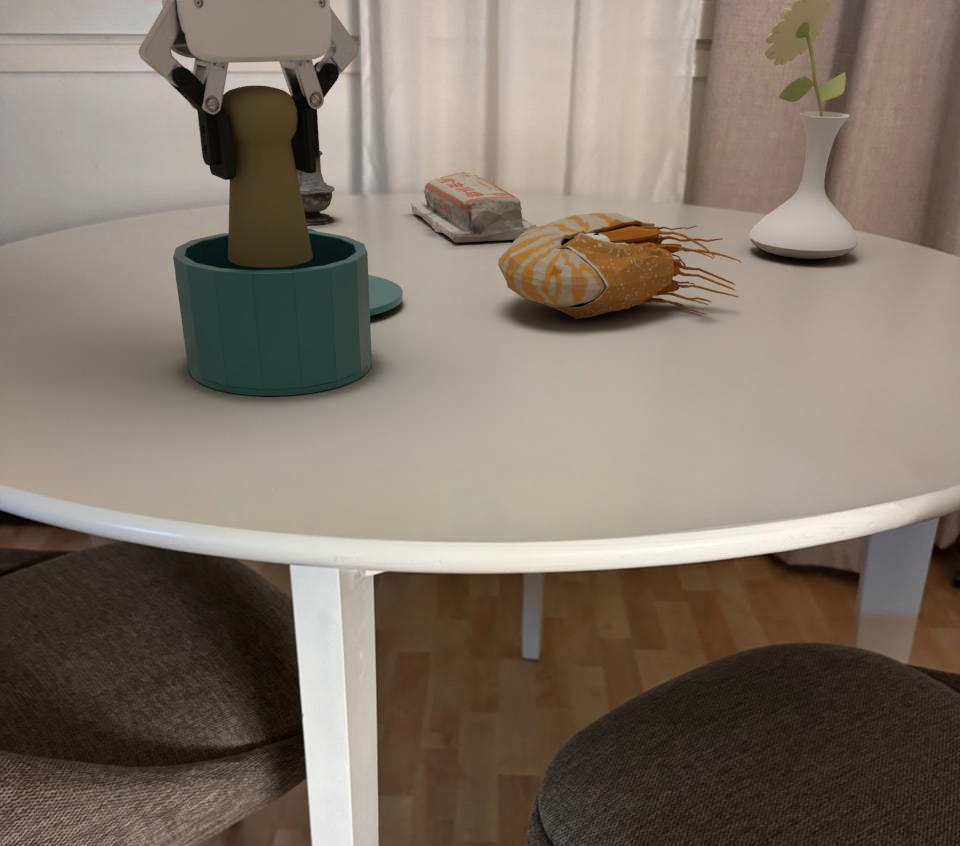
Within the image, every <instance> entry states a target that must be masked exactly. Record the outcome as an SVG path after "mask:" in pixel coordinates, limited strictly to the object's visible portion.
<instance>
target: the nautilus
mask: <svg viewBox="0 0 960 846" xmlns="http://www.w3.org/2000/svg"><path fill="white" fill-rule="evenodd" d="M655 225H656V223H652V222H647V221H641V220H638V219H635V218H632V217H629V216H627V215H624V214H621V213H619V212H594V213H593V212H591V213H583V214H574V215H570V216H567V217H564V218H559V219H557V220H555V221H551V222H548V223H545V224H542V225H538V226H536V227H534V228H531V229H529V230H527V231H526V232H524V233H523V234H521V235H520V236H519V237H518V238H516V239H515V240H513V241H512V243H511V244H510V246H509V247H508V248H507V249H506V250H505V251H504V252H503V253H502V255H501V256H500V257H499V258H498V262H497V266H498V268H499V269H500V272H501V274H502V275H503V278H504V280H505V283H506V285H507V288H508V289H509V290H511V291H512V292H514V293H515V294H517V295H519V296H520V297H521V298H523V299H525V300H529V301H532V302H534V303H535V302H536V303H538V304H541V305H543V306H546V307H549V308H551V309H555V310H558V311H560V312H562V313H564V314H566V315H568V316H569V317H572V318H573V319H575V320H579V319H585V318H592V317H595V316H599V315H602V314H606V313H610V312H619V311H622V310H629V309H630V308H631V307H635V306H639V305H641V304H643V303H649V304H650V303H658V304H659V303H660V304H670V305H674V306H676V307H679V308H681V309H685V310H687V311H691V312H694V313H698V314H701V315H705V316H707V313H706V312H703V311H700V310H697V309H694V308H690V307H688V306H686V305H685V304H683V303H680V302H677V301H672V300H666V299H663V298H661V297H658V296H673V297H675V298H676V297H677V298H680V299H683V300H686V301H690V302H695V303H699V304H703V305H706V306H709V303H712V301H711V300H709V299H706V298H702V297H698V296H697V297H686V296H683V295H681V294H678V293H675V292H677V291H679V290H680V288H681V289H688V288H696V289H701V290H702V291H703V290H704V291H706V292H707V291H708V292H711V293H716V294H720V295H725V296H729V297H735V298H739V297H740V296H738V295H736V294H732V293H728V292H724V291H721V290H720V291H719V290H715V289H712V288H708V287H704V286H700V285H696V284H695V283H694V282H690V281H687V280H686V281H678V280H675V279H673V278H675V277H677V276H678V275H679V276H682V277H696V278H697V277H698V278H700V279H702V280H706V281H708V282H711V283H712V284H713V283H714V284H715V285H718V286H721V287H724V288H727V289H729V290H732V291H735V292H736V291H737V290H736V289H735V288H733V287H732V286H729V285H727V284H725V283H722V282H719V281H716V280H714V279H712V278H709V277H706V276H704V275H702V274H699V273H687V272H683V271H684V270H685V271H699V272H701V273H704V274H706V275H709V276H711V277H714V278H716V279H718V280H720V281H723V282H726V283H729V284H731V285H734V286H736V283H734V282H733V281H731V280H728V279H726V278H725V277H722V276H719V275H717V274H714V273H712V272H710V271H708V270H705V269H702V268H701V267H692V266H687V265H686V263H685V261H683V259H682V258H681V257H680V256H679V255H678V254H675V253H678V252H681V251H682V252H685V253H688V252H692V253H697V254H701V255H703V256H706V257H709V258H711V259H712V260H714V259H715V256H720V257H724V258H726V259H727V258H728V259H731V260H734V261H737V262H739V263H740V264H742V263H743V262H742V261H741V260H740V259H738V258H735V257H732V256H729V255H727V254H723V253H720V252H715V251H711V250H710V249H709V248H707V246H705V245H703V244H702V243H700V242H704V243H709V242H715V241H722V240H723V238H712V239H704V238H699V237H698V238H697V237H696V238H695V237H694V238H692V237H689V236H688V235H686V234H685V233H684V234H683V233H681V232H677V231H675V230H682V229H684V230H690V229H693V228H696V227H697V225H692V226H689V227H685V226H684V227H682V226H681V227H674V228H673V227H672V228H671V227H668V226H655ZM663 229H667V230H670V231H663ZM672 235H675V236H672ZM676 236H678V238H677V237H676ZM679 237H683V238H679ZM665 240H672V241H676V242H680V243H681V242H682V243H683V242H685V243H686V242H688V243H689V242H692V243H694V244H696V245H697V246H700V247H701V248H703V249H700V248H699V249H698V248H697V249H694V248H689V247H685V246H682V244H680V243H663V241H665ZM675 257H676V258H675ZM682 270H683V271H682ZM707 302H708V303H707Z"/></svg>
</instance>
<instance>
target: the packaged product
mask: <svg viewBox="0 0 960 846" xmlns="http://www.w3.org/2000/svg"><path fill="white" fill-rule="evenodd" d="M423 194H424V199H425V201H426V202H424V201H422V202H419V203H418V204H416V203H412V202H410V205H411V206H410V207H411V213H412V214H414V215H416V216H419V217H420V218H422V219H423V220H424V221H425V222H426V223H427V224H428V225H429V226H430V227H432V229H433V231H434V232H435V233H442V234H443V235H445V236H446V237H448V238H449V239H451V240H452V241H453V242H454V243H457V244H464V243H481V242H497V241H499V242H500V241H514V240H515V239H516V238H518V237H519V236H520V235H521V234H523V233H524V232H526V231H527V230H529V229H531V228H534V227H537V225H536V224H533V223H532V222H531V221H529V220H526V219H525V218H524V217H523V213H522V206H521V205H522V204H521V199H520V198H518V197H516V196H515V195H514V194H512V193H510V192H508V191H507V190H504V189H502V188H501V187H498V186H497V185H495V184H493V183H491V182H489V181H487V180H485V179H483V178H482V177H480V176H479V175H476V174H473V173H470V172H465V171H460V172H455V173H452V174H448V175H443V176H440V177H438V178H434V179H433V180H430V181H429V182H426V184H425V185H424V190H423Z"/></svg>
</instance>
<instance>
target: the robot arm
mask: <svg viewBox="0 0 960 846" xmlns="http://www.w3.org/2000/svg"><path fill="white" fill-rule="evenodd" d="M161 5H162V9H161V10H160V12H159V14H158V15H157V17H156V19H155V20H154V21H153V24H152V25H151V27H150V29H149V30H148V32H147V34H146V36H145V37H144V39H143V41H142V43H141V44H140V46H139V48H138V55H139V58H140V59H141V60H142V61H143V62H144V63H145V64H147V66H149V67H150V68H151V69H153V70H154V71H155V72H156V73H157V74H159V75H160V76H161V77H162V78H164V80H166V81H167V82H168V83H169V84H170V85H171V87H173V88H174V90H176V91H177V92H178V93H179V94H180V95H181V96H182V97H183V98H184V99H185V100H186V101H187V102H188V103H189V106H191V108H193V109H194V110H196V111H197V120H198V129H199V137H200V146H201V156H202V160H203V163H204V164H205V165H206V166H209V171H210V174H211V175H212V176H215V177H217V178H220V179H222V180H224V181H230V180H231V179H234V177H236V167H235V157H234V146H233V136H232V126H231V118H230V116H229V115H228V114H226V113H224V112H223V103H222V99H223V95H224V94H225V88H226V87H225V86H226V80H227V75H228V68H229V63H230V64H234V63H272V62H273V63H275V62H278V63H279V65H280V68H281V71H282V74H283V77H284V80H285V83H286V86H287V89H288V93H289V94H290V96H291V97H292V99H293V101H294V102H295V105H296V109H297V116H298V123H297V129H296V132H295V134H294V136H293V138H292V139H291V144H292V150H293V155H294V160H295V165H296V169H297V170H300V171H302V172H305V173H315V172H316V158H318V156H319V151H320V135H319V121H318V120H319V117H318V110H319V109H321V108H322V107H323V105H324V102H325V97H326V96H327V95H328V93H329V92H330V90H331V89H332V88H333V86H334V85H335V84H336V83H337V81H338V79H339V77H340V74H342V73H343V72H344V71H345V70H346V68H347V67H348V66H349V65H350V64H351V63H352V62H353V61H354V59H355V58H357V56H358V54H359V46H358V44H357V43H356V41H355V40H354V38H353V37H352V36H351V34H350V33H349V31H348V30H347V29H346V26H344V24H343V23H342V21H341V20H340V18H339V17H338V15H336V13H335V12H334V10H333V9H332V7H331V0H161ZM172 51H173V53H175V54H177V55H179V56H181V57H185V58H189V59H194V63H193V69H192V71H191V70H190V69H188V68H187V67H185V66H184V65H183V64H182V63H181V62H179V60H177V58H175V56H173V53H172ZM321 57H322V58H321ZM319 58H321V59H320V60H319V61H317V62H315V64H314V62H313V60H316V59H319Z"/></svg>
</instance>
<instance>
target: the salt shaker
mask: <svg viewBox="0 0 960 846" xmlns="http://www.w3.org/2000/svg"><path fill="white" fill-rule="evenodd" d="M323 154H324V153H323V152H322V151H321V150H319V156H318V158H316V172H315V173H305V172H302V171H300V170H297V169H296V171H297V176H298V181H299V186H300V192H301V197H302V202H303V207H304V213H305V218H306V223H307V226H322V225H328V224H331V223H334V221H335V220H334V218H333V217H332V216H331V215H330V214H328V213H325V212H324V213H322V212H323V211H325V210H327V209H328V208H329V206H330V205H331V203H332V199H333V192H334V191H335V189H336V188H335V187H334V186H332V185H329V184H327V182H325V180H324V177H323V173H322V165H321V164H322V163H321V157H322V155H323Z"/></svg>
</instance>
